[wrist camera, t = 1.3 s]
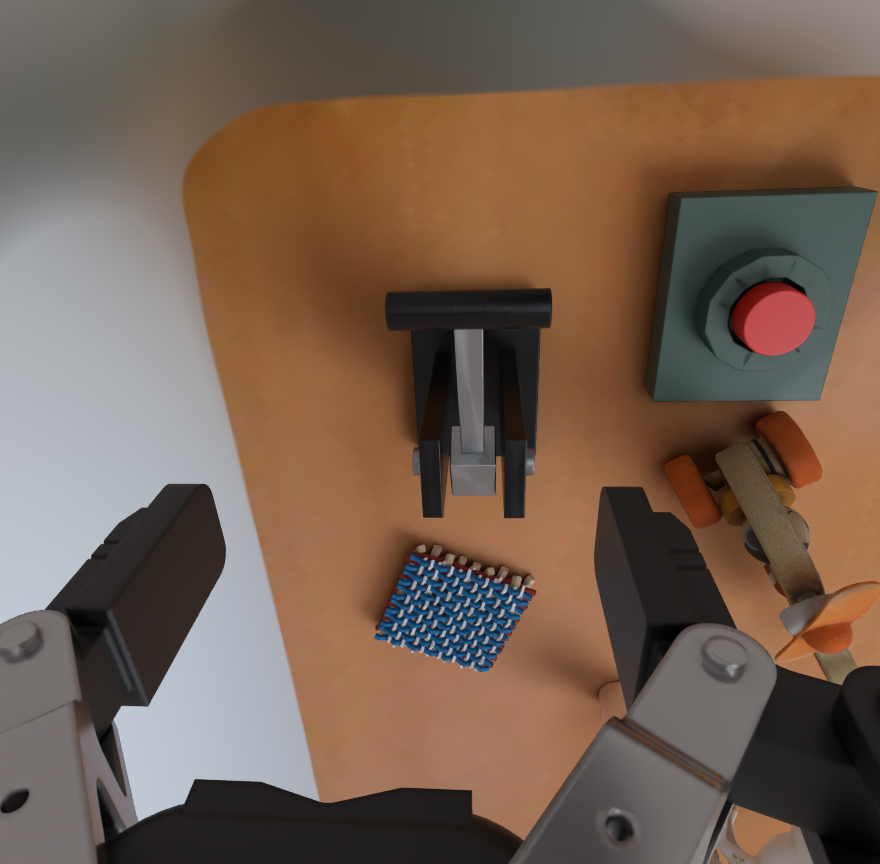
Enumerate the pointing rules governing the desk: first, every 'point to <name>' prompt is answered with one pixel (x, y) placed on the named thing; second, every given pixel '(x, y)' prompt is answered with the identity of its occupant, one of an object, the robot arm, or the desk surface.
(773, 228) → the button block
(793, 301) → the button
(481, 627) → the woven mat
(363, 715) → the desk surface
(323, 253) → the desk surface
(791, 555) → the toy helicopter
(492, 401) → the bracket
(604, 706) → the milkshake
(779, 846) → the unicorn figurine
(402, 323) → the lever
